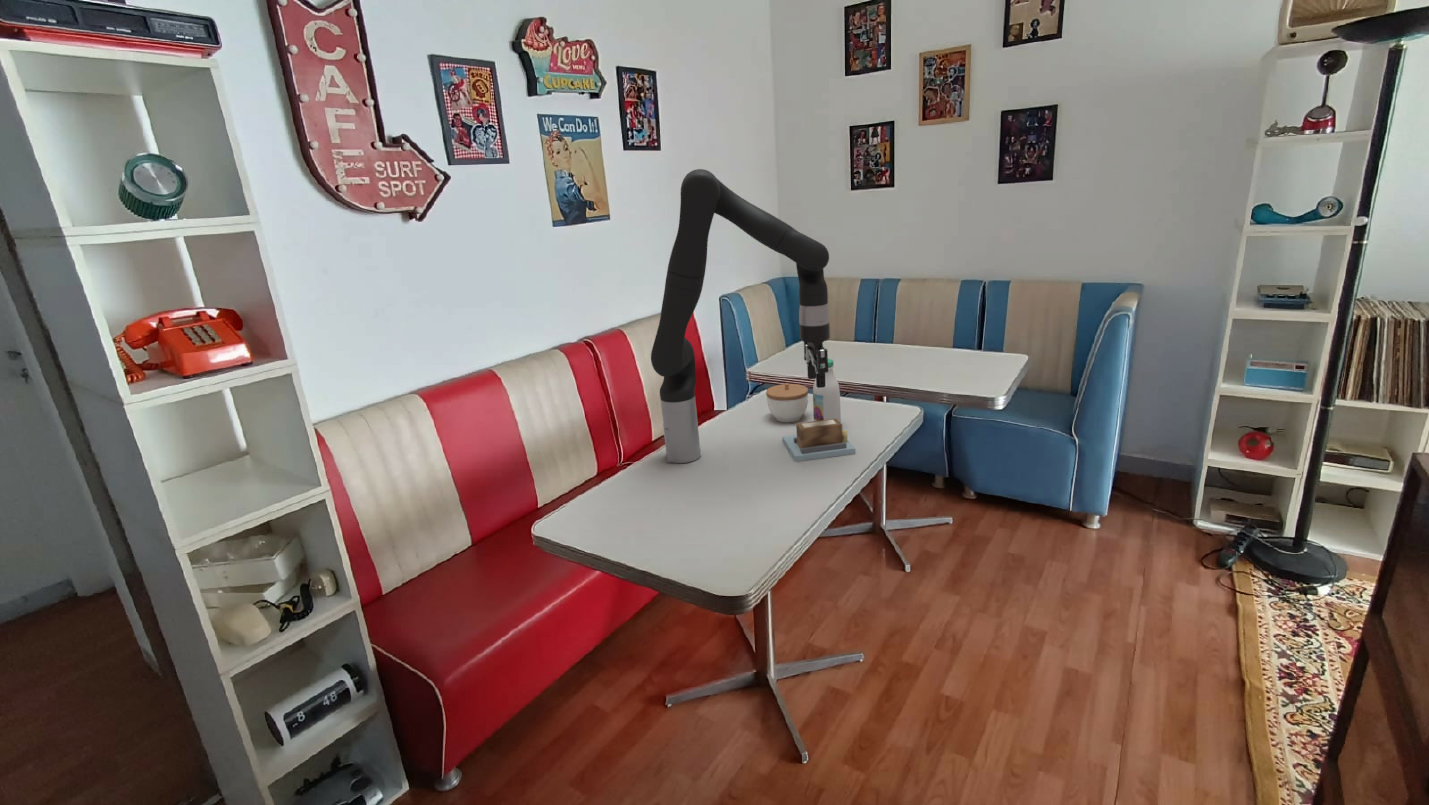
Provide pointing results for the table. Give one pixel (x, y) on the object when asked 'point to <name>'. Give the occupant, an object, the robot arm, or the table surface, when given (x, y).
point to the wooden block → (819, 433)
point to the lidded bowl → (787, 401)
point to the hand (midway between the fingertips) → (816, 382)
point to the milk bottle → (827, 397)
